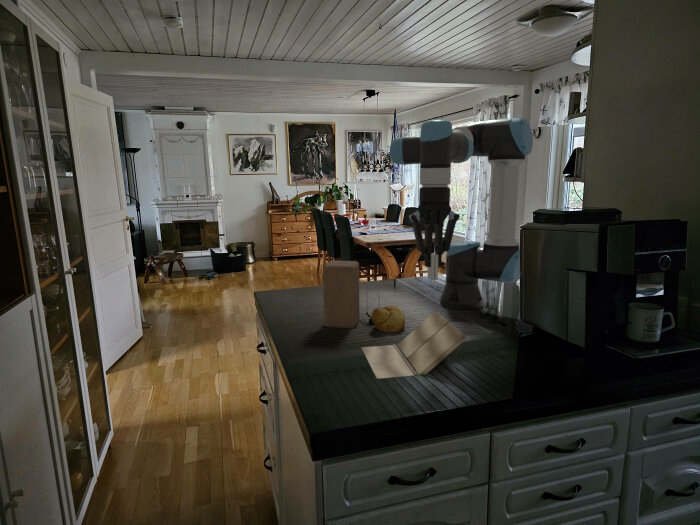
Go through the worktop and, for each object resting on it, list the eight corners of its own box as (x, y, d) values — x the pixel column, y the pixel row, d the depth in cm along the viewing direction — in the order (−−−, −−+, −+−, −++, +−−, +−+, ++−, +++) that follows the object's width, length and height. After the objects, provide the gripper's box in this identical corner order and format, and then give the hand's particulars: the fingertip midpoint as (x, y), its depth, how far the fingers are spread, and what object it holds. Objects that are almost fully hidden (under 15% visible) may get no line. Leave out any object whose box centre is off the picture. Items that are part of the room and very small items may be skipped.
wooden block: (354, 329, 134) (353, 266, 131) (323, 327, 136) (321, 265, 133) (360, 319, 144) (359, 260, 140) (330, 318, 146) (329, 259, 142)
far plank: (438, 314, 118) (435, 311, 118) (450, 324, 110) (448, 321, 109) (399, 348, 118) (397, 345, 118) (409, 361, 110) (406, 358, 109)
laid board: (395, 349, 118) (395, 344, 118) (417, 379, 100) (417, 374, 100) (361, 351, 117) (361, 346, 117) (377, 383, 98) (377, 377, 98)
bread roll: (381, 321, 142) (381, 297, 141) (410, 324, 139) (410, 300, 137) (369, 334, 130) (369, 309, 129) (401, 338, 127) (401, 311, 125)
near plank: (451, 325, 109) (449, 322, 109) (467, 337, 100) (464, 334, 100) (410, 362, 109) (407, 359, 109) (422, 377, 100) (418, 374, 100)
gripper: (454, 185, 112) (451, 274, 116) (404, 186, 110) (403, 277, 114) (466, 185, 104) (462, 280, 109) (413, 186, 102) (412, 283, 107)
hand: (432, 278), depth 111 cm, fingers closed
